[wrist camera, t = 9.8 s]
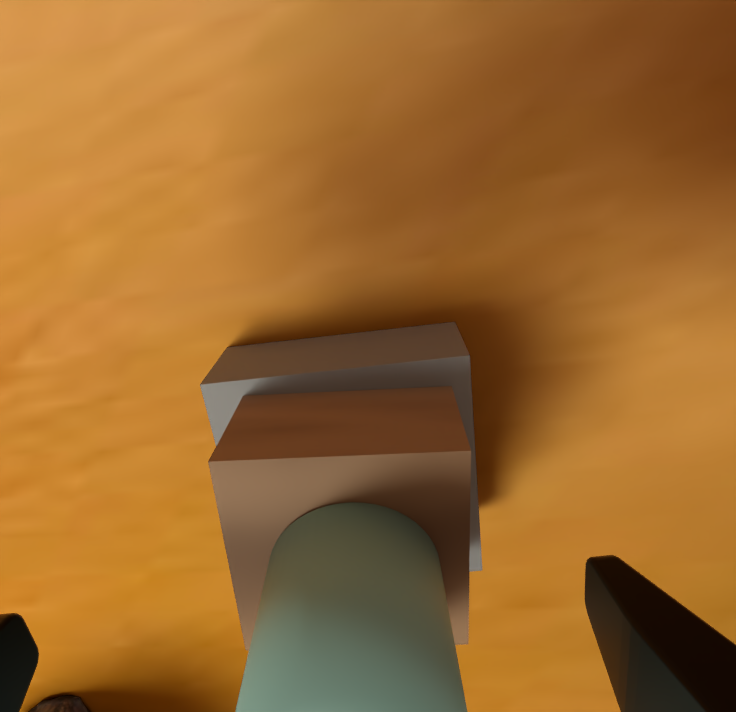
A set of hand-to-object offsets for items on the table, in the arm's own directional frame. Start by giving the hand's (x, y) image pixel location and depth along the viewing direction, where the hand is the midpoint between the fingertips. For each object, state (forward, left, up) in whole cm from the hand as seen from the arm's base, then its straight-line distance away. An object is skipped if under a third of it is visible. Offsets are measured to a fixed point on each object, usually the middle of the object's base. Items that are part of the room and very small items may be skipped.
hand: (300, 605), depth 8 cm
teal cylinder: (-5, 0, -6) cm, 8 cm away
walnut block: (-4, 0, -10) cm, 11 cm away
